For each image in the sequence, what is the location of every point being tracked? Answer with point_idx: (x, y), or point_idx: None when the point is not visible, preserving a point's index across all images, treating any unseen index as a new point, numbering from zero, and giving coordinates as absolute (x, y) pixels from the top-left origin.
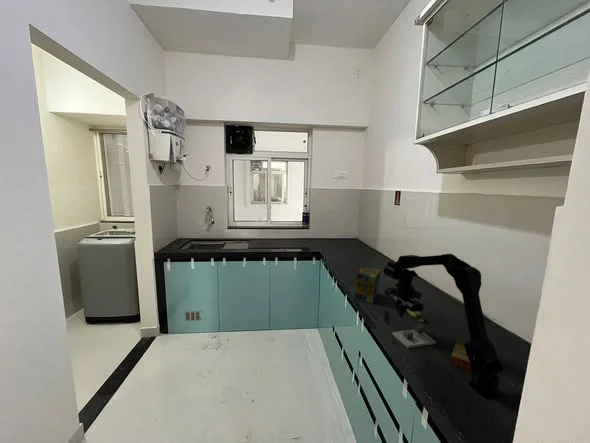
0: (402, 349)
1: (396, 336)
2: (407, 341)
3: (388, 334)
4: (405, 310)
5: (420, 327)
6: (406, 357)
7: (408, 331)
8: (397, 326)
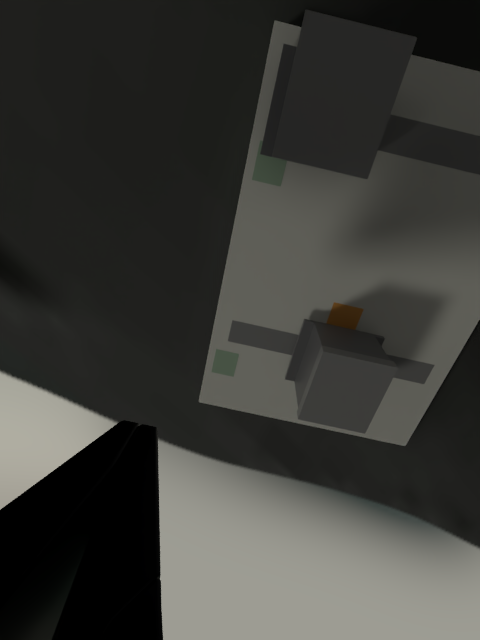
0: (380, 469)
1: (255, 407)
2: None
3: (191, 414)
4: (158, 629)
5: (382, 128)
6: (447, 507)
7: (342, 396)
8: (100, 229)
